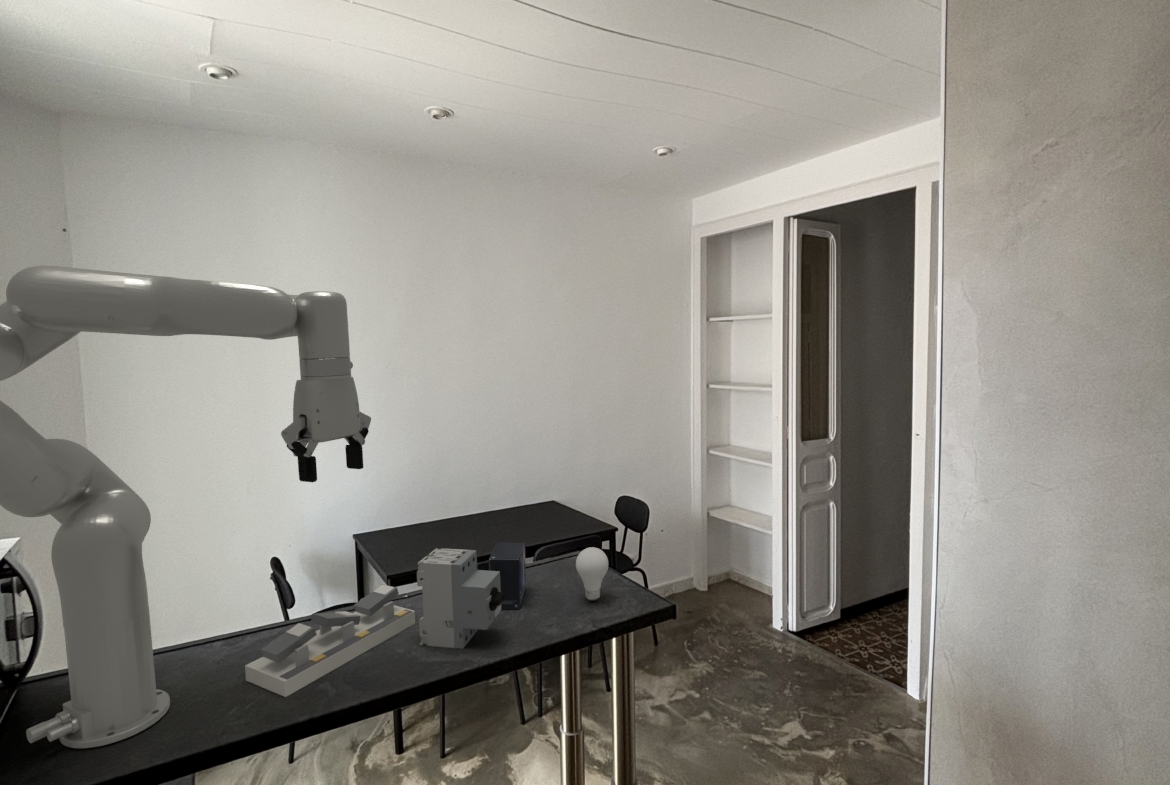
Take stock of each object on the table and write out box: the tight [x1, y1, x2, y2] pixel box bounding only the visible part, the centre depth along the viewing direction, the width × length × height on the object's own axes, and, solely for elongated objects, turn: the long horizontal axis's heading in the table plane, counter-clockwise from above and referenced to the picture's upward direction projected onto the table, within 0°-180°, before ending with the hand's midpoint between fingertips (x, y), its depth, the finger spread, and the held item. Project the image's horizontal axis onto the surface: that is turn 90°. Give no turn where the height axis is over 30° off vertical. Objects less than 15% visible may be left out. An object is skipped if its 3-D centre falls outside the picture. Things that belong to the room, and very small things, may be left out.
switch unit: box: [244, 597, 416, 698], centre depth 106 cm, size 27×10×5 cm, turn 151°
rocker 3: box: [353, 584, 399, 616], centre depth 114 cm, size 7×4×2 cm, turn 151°
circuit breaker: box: [416, 547, 506, 650], centre depth 109 cm, size 8×14×15 cm, turn 78°
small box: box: [488, 541, 527, 610], centre depth 126 cm, size 11×6×10 cm, turn 179°
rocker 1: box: [260, 622, 317, 663], centre depth 98 cm, size 7×4×2 cm, turn 151°
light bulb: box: [575, 546, 609, 602], centre depth 124 cm, size 7×7×11 cm
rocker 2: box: [310, 610, 361, 627], centre depth 106 cm, size 7×4×2 cm, turn 151°
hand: (332, 474), depth 99 cm, fingers open, 9 cm apart
